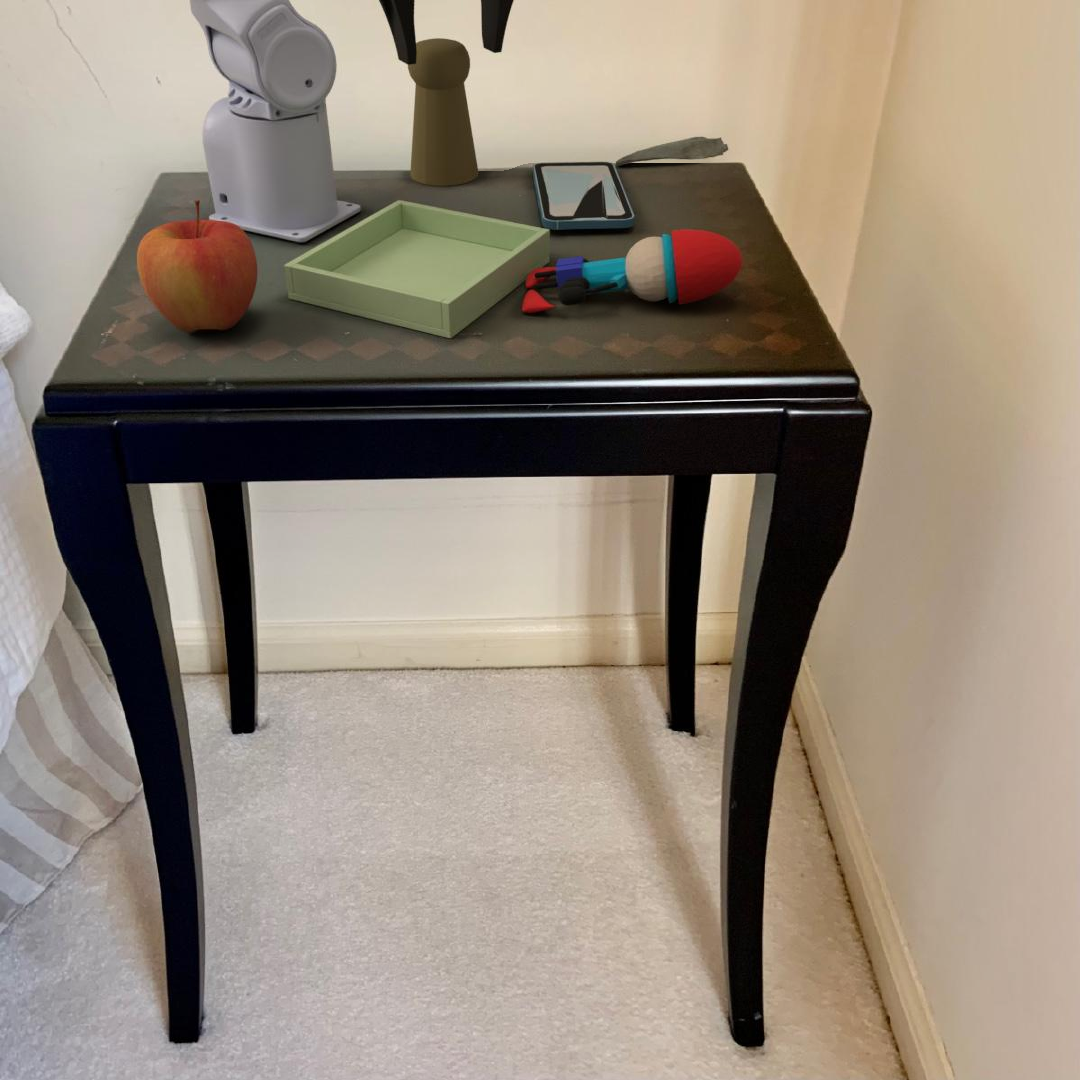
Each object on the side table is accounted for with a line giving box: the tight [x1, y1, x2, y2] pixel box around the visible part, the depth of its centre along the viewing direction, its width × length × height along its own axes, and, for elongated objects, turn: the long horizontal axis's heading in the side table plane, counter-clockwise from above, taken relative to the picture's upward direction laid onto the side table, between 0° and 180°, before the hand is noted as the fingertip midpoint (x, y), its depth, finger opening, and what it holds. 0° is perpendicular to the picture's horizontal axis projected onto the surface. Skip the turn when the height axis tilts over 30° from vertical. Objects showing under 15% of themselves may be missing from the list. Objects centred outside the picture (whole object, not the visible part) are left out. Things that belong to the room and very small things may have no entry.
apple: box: [136, 199, 258, 334], centre depth 70 cm, size 7×7×8 cm
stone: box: [615, 136, 729, 167], centre depth 100 cm, size 11×2×5 cm
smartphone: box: [532, 161, 636, 232], centre depth 91 cm, size 7×1×15 cm
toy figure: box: [521, 228, 743, 314], centre depth 75 cm, size 8×5×15 cm
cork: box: [407, 37, 480, 187], centre depth 93 cm, size 6×6×11 cm
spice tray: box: [283, 199, 551, 339], centre depth 78 cm, size 13×14×2 cm
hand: (450, 55), depth 89 cm, fingers open, 7 cm apart
